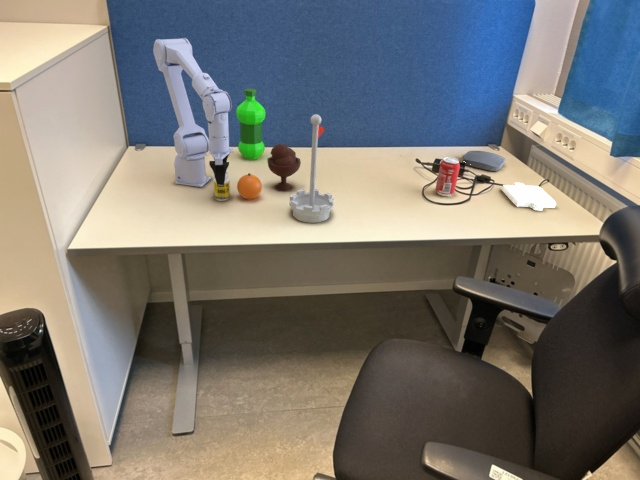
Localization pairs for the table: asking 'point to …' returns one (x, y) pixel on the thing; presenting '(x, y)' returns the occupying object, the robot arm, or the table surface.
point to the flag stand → (312, 188)
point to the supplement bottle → (222, 189)
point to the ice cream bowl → (283, 164)
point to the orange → (249, 186)
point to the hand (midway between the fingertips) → (220, 178)
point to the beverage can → (447, 176)
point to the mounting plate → (528, 196)
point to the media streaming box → (484, 160)
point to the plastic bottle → (250, 126)
